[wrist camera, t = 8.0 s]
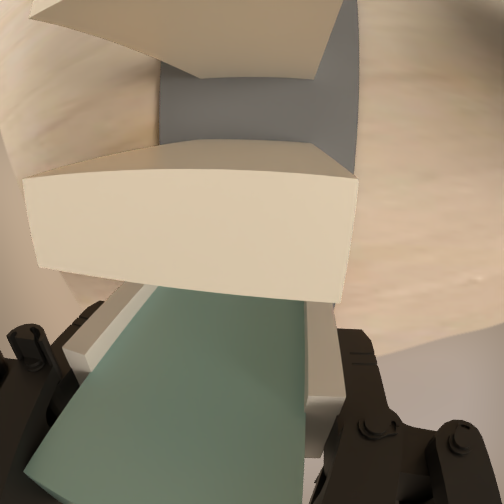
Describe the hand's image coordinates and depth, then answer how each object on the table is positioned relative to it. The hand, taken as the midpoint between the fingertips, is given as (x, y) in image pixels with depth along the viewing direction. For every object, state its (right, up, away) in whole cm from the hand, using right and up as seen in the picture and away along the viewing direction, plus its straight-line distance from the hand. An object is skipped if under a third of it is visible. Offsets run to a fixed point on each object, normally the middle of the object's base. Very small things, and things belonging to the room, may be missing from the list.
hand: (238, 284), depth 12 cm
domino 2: (+1, +5, +1) cm, 6 cm away
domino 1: (+1, +10, -1) cm, 10 cm away
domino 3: (0, 0, 0) cm, 0 cm away
